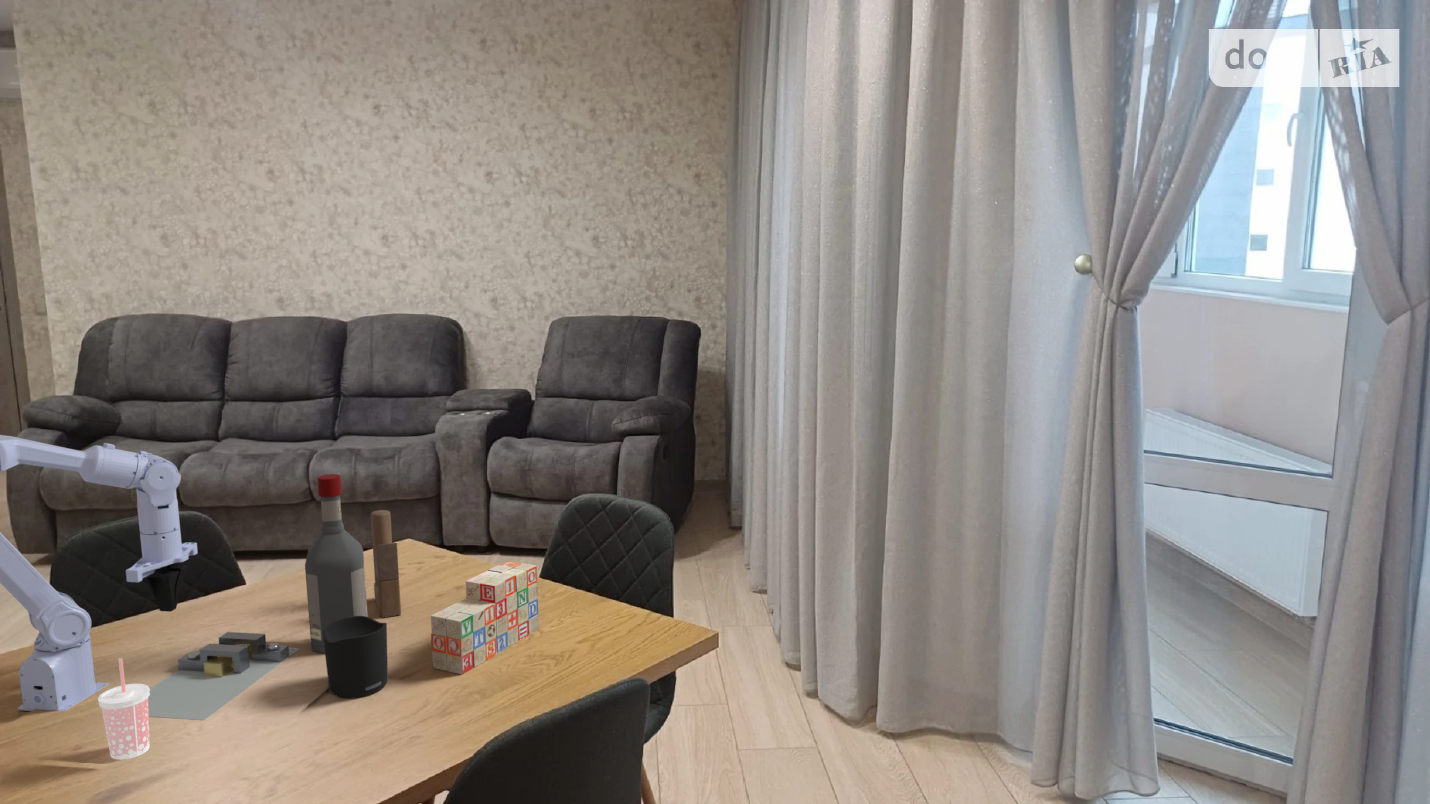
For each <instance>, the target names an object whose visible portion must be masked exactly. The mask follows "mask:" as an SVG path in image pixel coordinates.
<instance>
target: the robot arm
mask: <svg viewBox="0 0 1430 804" xmlns="http://www.w3.org/2000/svg"><path fill="white" fill-rule="evenodd" d="M18 465H28V466H35V467H42V468H50V469H57V470H65V471H72V472H77V473H79V475H80V476H81V478H82V480H83V481H84V482H86V483H91V484H99V485H105V486H110V487H117V488H122V489H128V490H130V489H134V488H136V489H135V490H136V500H137V504H136V506H137V507H136V508H137V518H138V525H139V538H140V547H141V555H142V557H141V558H139V560H137V561H136V562H135V563H134V564H133V565H132V566H131V567H129V568H127V569H126V570H125V576H126V582H128V583H140V582H142V581H143V582H144V583H145V584H146V586H147V587H148V588H149V590H150V592H151V593H152V596H153V598H154V600H155V602H156V604H157V607H158V610H159V611H160V612H173V611H175V610H177V607H178V606H177V605H178V600H179V596H180V595H179V594H180V590H181V587H182V583H183V581H184V578H185V576H186V574H187V572H188V570H189V568H188V567H189V566H188V563H184V562H185V561H187V560H189V556H195V555H198V543H197V542H192V541H191V542H188V541H187V542H182V534H181V524H180V523H181V522H180V515H179V514H180V512H179V502H178V498H177V488H178V487H179V486H180V483H181V479H182V474H181V473H180V472H179V470H178V468H177V466H176V464H174V463H173V462H172V461H170V460H167V459H166V458H163V457H161V456H160V455H156V454H153V453H152V452H148V451H145V450H144V451H143V450H138V452H134V451H127V450H123V449H117V448H116V445H115V444H113V443H108V442H104V443H103V444H102V445H93V446H90V447H89V448H87V449H85V450H77V449H73V448H67V447H64V446H59V445H53V444H50V443H44V442H39V441H36V440H31V439H26V438H22V437H17V436H11V435H4V434H0V472H4V471H7V470H9V469H12V468H13V467H15V466H16V467H17V466H18ZM0 584H1V585H2V587H4V588H5V590H7V592H9V593H10V594H11V596H12V597H13V598H15V600H16V601H17V602H18V603H20V605H21V606H22V607H23V608H24V609H25V610H26V611H27V613H28V617H29V618H28V619H29V622H30V624H31V625H32V627H33V628H34V629H36V630H37V631H39V633H37V636H36V638H35V641H34V643H33V644H34V649H33V651H32V653H31V654H30V656H28V657H27V658H26V659H24V660H23V662H22V663H21V664H20V667H19V671H18V676H19V684H20V691H21V693H20V694H21V700H22V701H21V702H22V704H21V705H19V706H18V708H17V709H18V711H27V712H28V711H29V712H32V711H34V710H43V711H44V710H45V711H55V712H56V711H58V712H63V711H64V712H65V711H68V710H69V709H71V708H73V707H75V706H76V705H77V704H79V703H81V702H82V701H85V699H87V698H89V697H91V696H92V695H94V694H96V693H98V692H99V691H101V690H102V689H104V688H105V687H107V686H109V685H110V683H109V682H98V681H97V682H96V677H95V669H94V659H93V650H92V642H91V640H92V639H91V633H90V631H91V629H92V619H91V616H90V614H89V612H87V610H85V609H84V608H82V607H80V606H79V605H78V604H77V603H76V602H75V599H73V598H72V597H71V596H70V595H68V594H67V593H63V592H60V591H57V590H56V589H55V588H54V587H53V586H52V585H51V584H50V582H48V581H47V580H46V578H44V577H43V575H42V574H41V573H40V572H39V571H38V570H37V569H36V568H35V567H34V566H33V565H32V564H31V563H30V562H29V560H27V559H26V558H25V556H23V554H22V553H21V552H20V551H19V550H18V549H17V548H16V547H15V546H14V545H13V544H12V542H10V541H9V540H8V538H6V536H5V535H3V534H2V532H1V531H0Z"/></svg>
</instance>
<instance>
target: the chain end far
mask: <svg viewBox="0 0 1430 804" xmlns="http://www.w3.org/2000/svg"><path fill="white" fill-rule="evenodd" d="M218 644H223V645H232V644H249V645H250V646H251V658H252V661H268V662H282V661H283V660H284V661H286V660H287V659H288V658H290V657H289V648H290V647H289V645H281V644H280V643H278V642H270V643H268V644H267V639H266V633H254V632H252V633H251V632H236V631H235V632H234V631H233V632H232V631H227V632H226V633H224V634H223V635H221V636H219V637H218ZM287 657H288V658H287ZM286 658H287V659H286ZM285 659H286V660H285ZM284 661H283V662H284ZM283 662H282V663H283Z"/></svg>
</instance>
